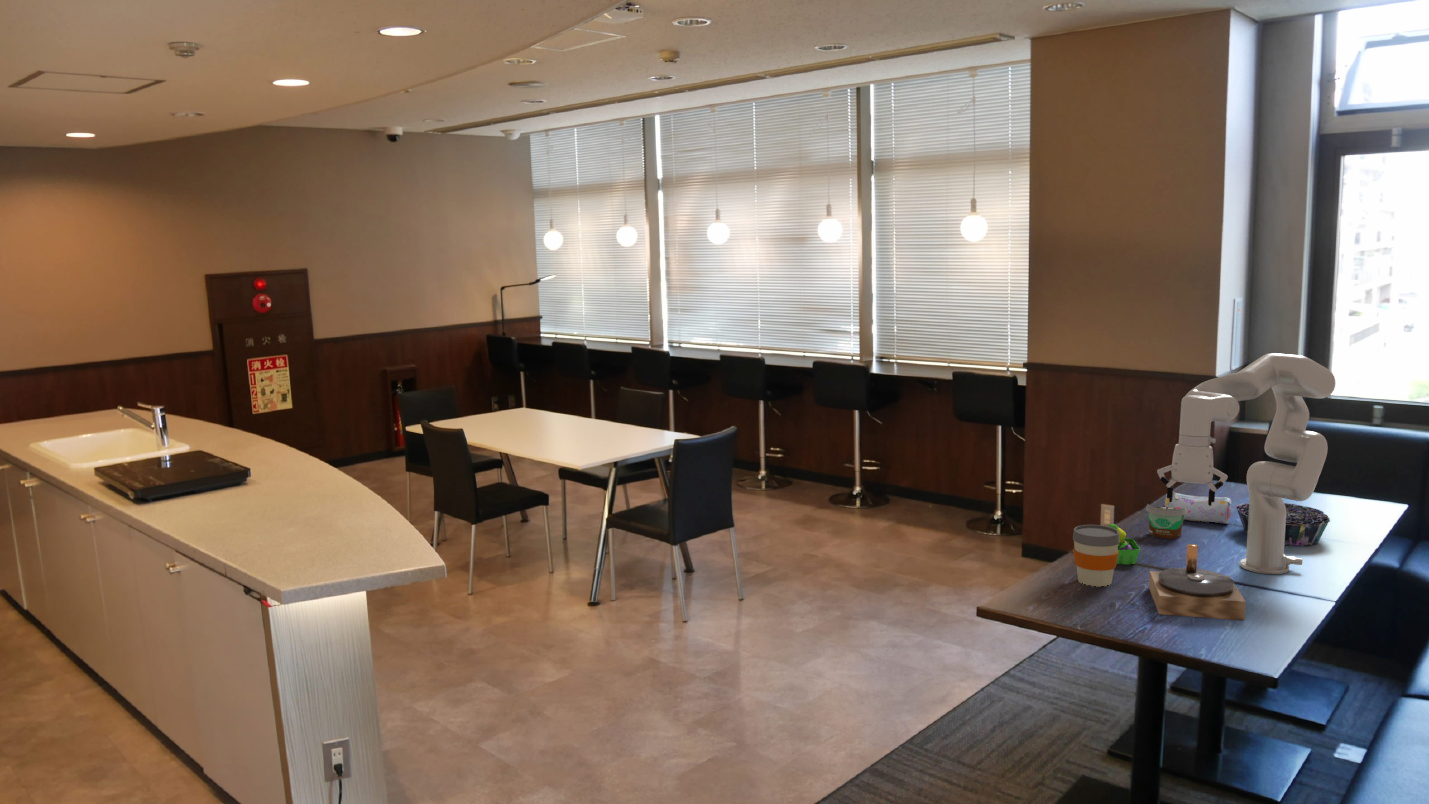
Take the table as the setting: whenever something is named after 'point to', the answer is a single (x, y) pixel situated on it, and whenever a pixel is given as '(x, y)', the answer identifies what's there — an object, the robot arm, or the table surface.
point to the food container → (1165, 521)
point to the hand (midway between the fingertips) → (1190, 502)
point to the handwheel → (1195, 578)
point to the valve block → (1196, 602)
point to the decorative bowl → (1296, 523)
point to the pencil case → (1202, 508)
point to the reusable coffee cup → (1095, 553)
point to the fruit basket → (1126, 548)
